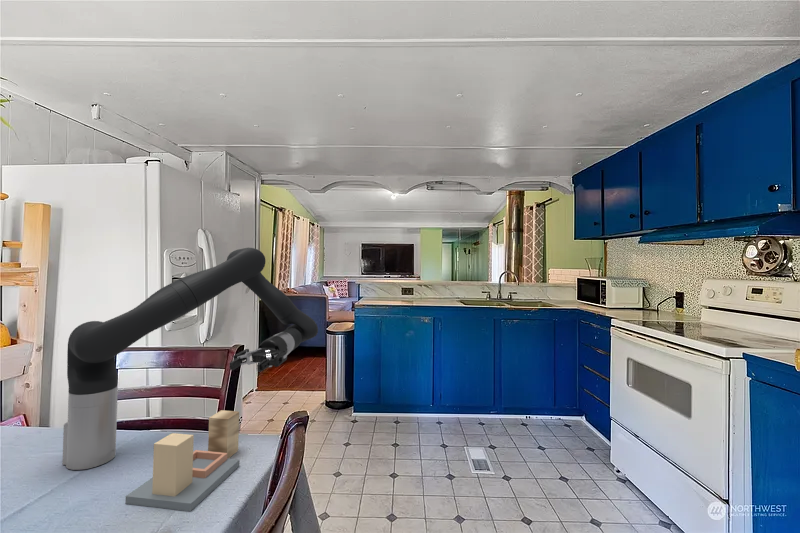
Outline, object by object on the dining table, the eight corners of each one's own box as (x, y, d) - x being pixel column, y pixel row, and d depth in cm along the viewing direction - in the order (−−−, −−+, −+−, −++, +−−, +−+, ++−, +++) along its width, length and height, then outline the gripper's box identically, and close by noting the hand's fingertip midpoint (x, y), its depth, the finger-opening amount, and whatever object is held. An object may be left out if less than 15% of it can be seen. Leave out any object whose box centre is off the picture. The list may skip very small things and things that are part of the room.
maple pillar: (207, 458, 92) (209, 417, 92) (220, 448, 97) (221, 410, 97) (226, 460, 91) (227, 419, 92) (238, 450, 96) (239, 411, 97)
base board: (125, 503, 74) (127, 445, 74) (185, 460, 91) (186, 413, 91) (190, 511, 72) (192, 451, 72) (239, 465, 89) (240, 417, 89)
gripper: (256, 334, 118) (220, 353, 102) (297, 336, 115) (266, 355, 99) (258, 357, 119) (223, 379, 103) (299, 359, 116) (269, 382, 100)
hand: (244, 367), depth 101 cm, fingers open, 8 cm apart
